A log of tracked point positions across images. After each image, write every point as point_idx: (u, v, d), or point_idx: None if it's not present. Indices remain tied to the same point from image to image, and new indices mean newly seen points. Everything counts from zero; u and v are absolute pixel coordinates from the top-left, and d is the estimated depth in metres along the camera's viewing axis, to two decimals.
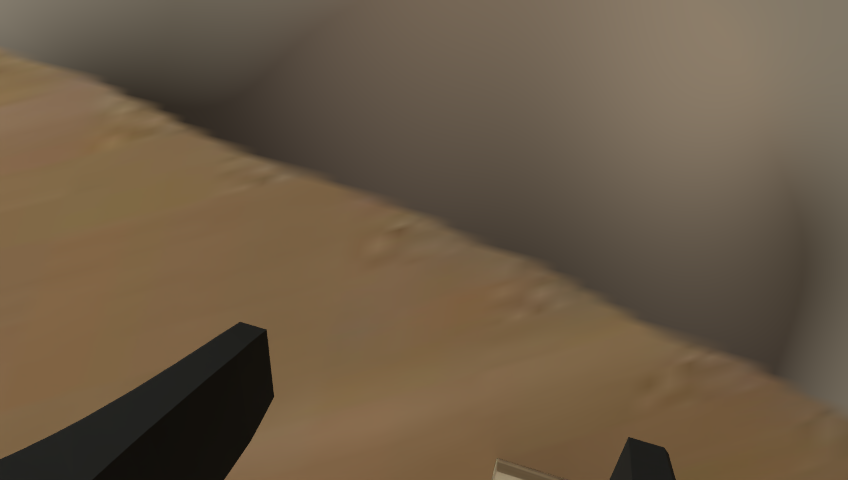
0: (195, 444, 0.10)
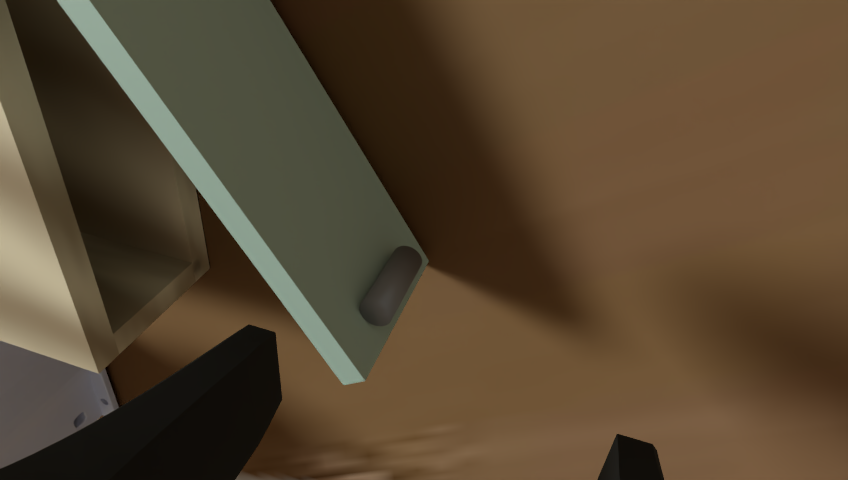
0: (204, 448, 0.10)
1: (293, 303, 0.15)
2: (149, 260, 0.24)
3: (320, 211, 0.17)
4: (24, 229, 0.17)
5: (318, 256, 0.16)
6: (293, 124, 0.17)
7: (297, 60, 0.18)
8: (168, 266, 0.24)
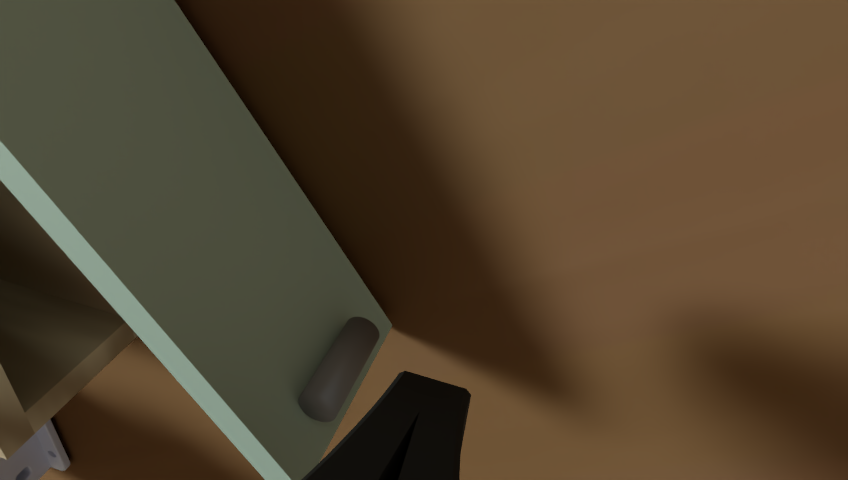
0: None
1: (210, 405, 0.13)
2: (80, 316, 0.21)
3: (250, 285, 0.14)
4: None
5: (245, 343, 0.13)
6: (218, 180, 0.14)
7: (228, 100, 0.15)
8: (101, 323, 0.21)
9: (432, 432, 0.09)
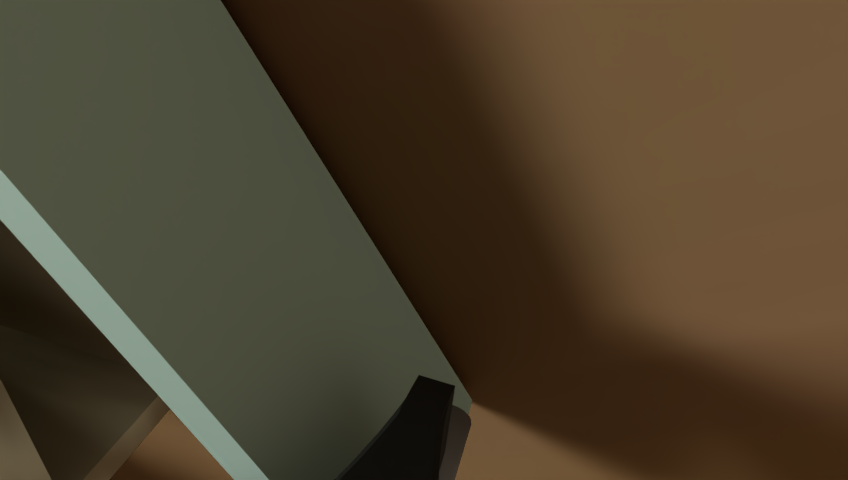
0: None
1: None
2: (117, 377, 0.19)
3: (337, 381, 0.12)
4: None
5: (335, 456, 0.11)
6: (299, 256, 0.12)
7: (305, 156, 0.13)
8: (141, 386, 0.19)
9: (413, 426, 0.09)
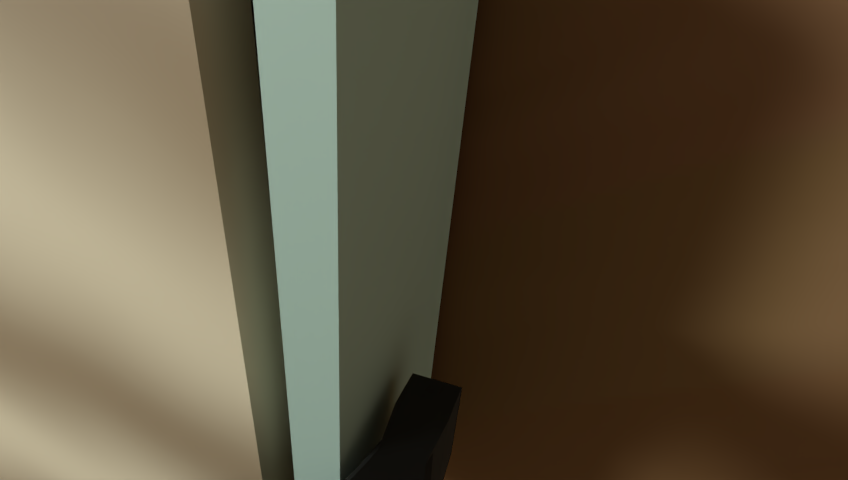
0: None
1: None
2: None
3: None
4: None
5: None
6: (410, 360, 0.12)
7: (442, 257, 0.13)
8: None
9: (407, 424, 0.09)
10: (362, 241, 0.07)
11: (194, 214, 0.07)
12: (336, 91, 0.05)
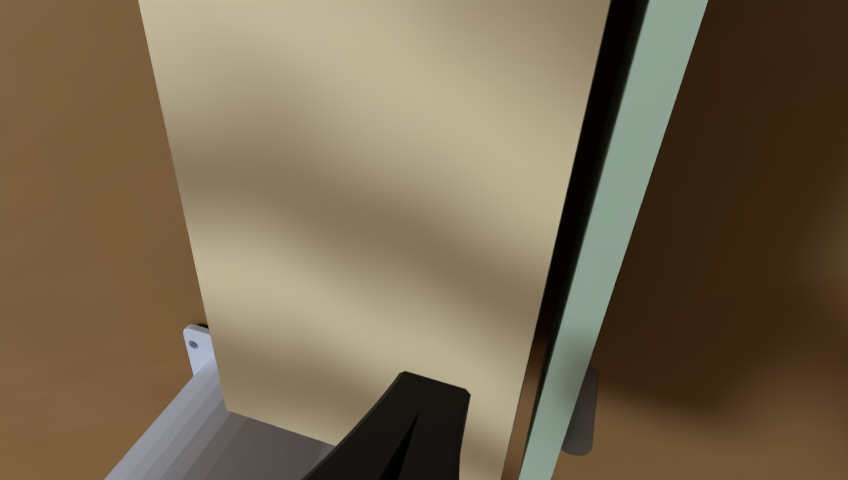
0: None
1: (544, 434, 0.15)
2: None
3: None
4: (491, 347, 0.14)
5: None
6: None
7: None
8: None
9: (432, 432, 0.09)
10: None
11: (568, 81, 0.10)
12: None
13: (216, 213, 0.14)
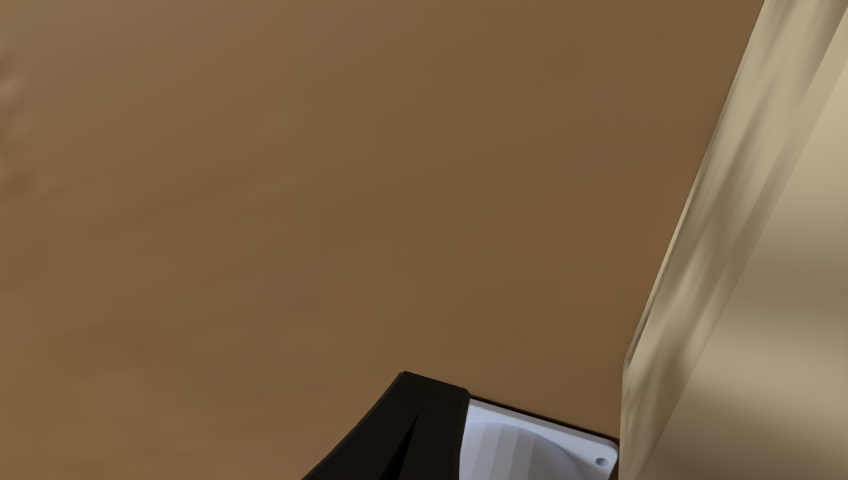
0: None
1: None
2: None
3: None
4: None
5: None
6: None
7: None
8: None
9: (432, 432, 0.09)
10: None
11: None
12: None
13: (772, 329, 0.11)
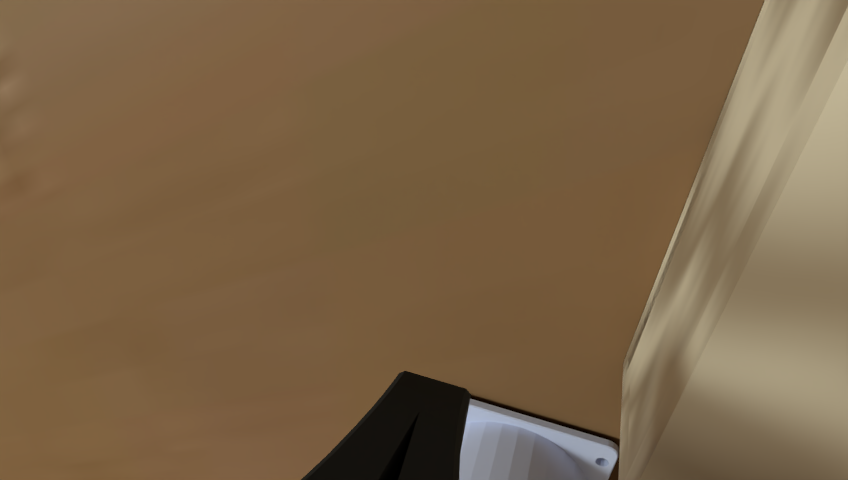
0: None
1: None
2: None
3: None
4: None
5: None
6: None
7: None
8: None
9: (432, 432, 0.09)
10: None
11: None
12: None
13: (772, 329, 0.11)
